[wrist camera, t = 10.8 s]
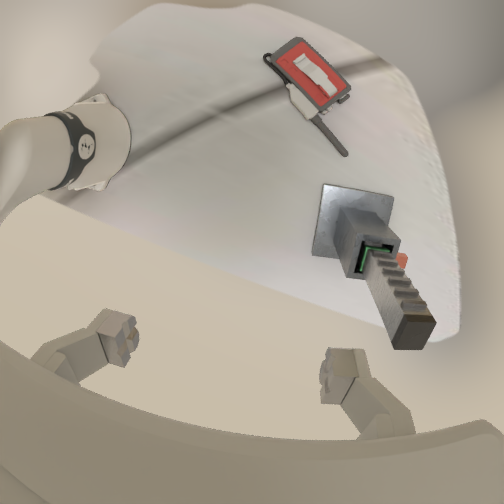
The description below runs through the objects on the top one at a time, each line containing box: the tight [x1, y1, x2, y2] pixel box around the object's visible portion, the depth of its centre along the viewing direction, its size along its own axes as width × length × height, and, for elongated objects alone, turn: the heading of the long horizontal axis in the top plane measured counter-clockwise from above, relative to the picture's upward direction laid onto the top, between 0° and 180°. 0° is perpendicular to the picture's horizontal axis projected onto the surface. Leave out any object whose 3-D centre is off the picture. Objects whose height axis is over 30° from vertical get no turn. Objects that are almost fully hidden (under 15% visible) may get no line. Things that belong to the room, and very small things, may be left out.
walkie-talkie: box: [263, 37, 351, 157], centre depth 34 cm, size 9×4×20 cm
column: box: [357, 240, 436, 350], centre depth 28 cm, size 3×4×20 cm
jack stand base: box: [312, 184, 408, 280], centre depth 38 cm, size 12×12×13 cm
